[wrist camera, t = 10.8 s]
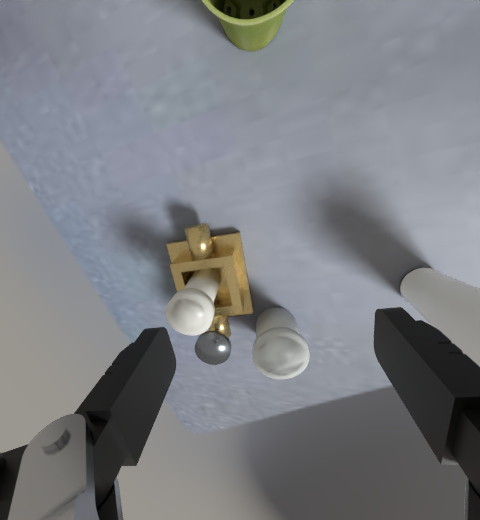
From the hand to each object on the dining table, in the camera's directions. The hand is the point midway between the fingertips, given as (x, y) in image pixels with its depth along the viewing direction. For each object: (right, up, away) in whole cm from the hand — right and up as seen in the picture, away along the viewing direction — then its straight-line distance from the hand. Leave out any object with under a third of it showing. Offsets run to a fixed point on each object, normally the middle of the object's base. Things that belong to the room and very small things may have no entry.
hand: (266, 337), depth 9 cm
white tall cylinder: (+23, 0, +24) cm, 33 cm away
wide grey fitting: (+4, -7, +27) cm, 28 cm away
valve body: (-5, +1, +25) cm, 26 cm away
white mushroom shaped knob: (-6, 0, +24) cm, 25 cm away
